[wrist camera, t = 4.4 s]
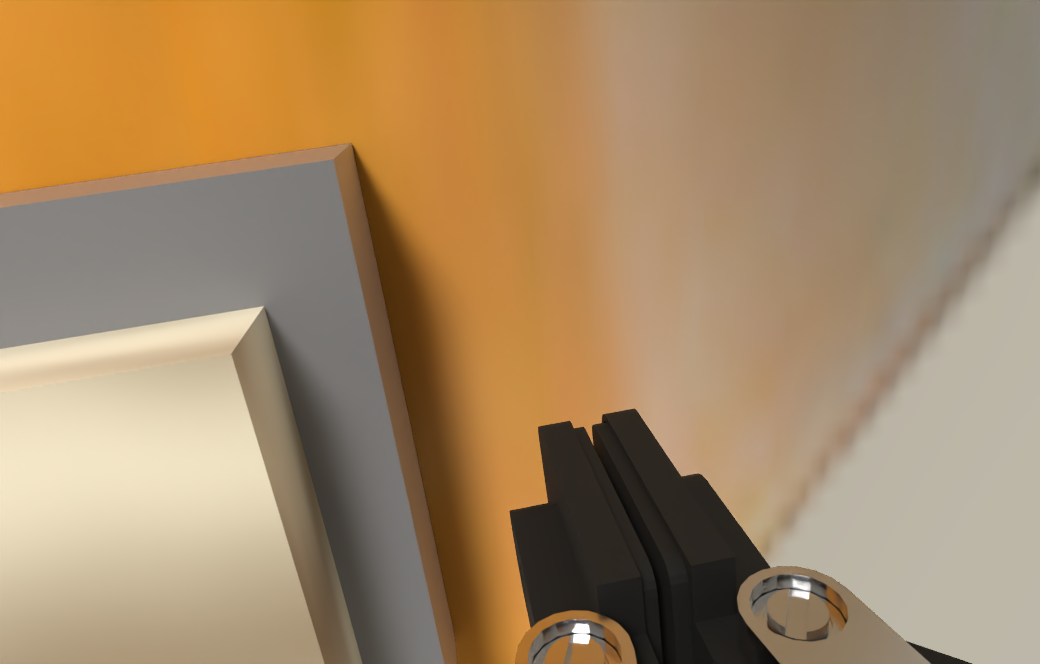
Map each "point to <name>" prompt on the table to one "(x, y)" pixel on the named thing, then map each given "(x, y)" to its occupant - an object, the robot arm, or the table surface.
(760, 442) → the table surface
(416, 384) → the table surface
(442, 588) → the grey flat square block
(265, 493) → the birch tile
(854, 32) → the table surface
